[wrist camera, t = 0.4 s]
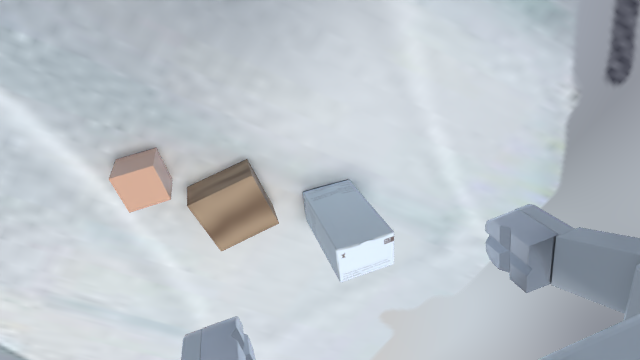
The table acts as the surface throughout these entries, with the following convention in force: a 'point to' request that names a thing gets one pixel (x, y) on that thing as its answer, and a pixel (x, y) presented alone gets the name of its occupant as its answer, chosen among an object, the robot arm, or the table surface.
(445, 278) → the table surface
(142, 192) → the terracotta cube
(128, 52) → the table surface
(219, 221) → the walnut block
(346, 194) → the skincare box
